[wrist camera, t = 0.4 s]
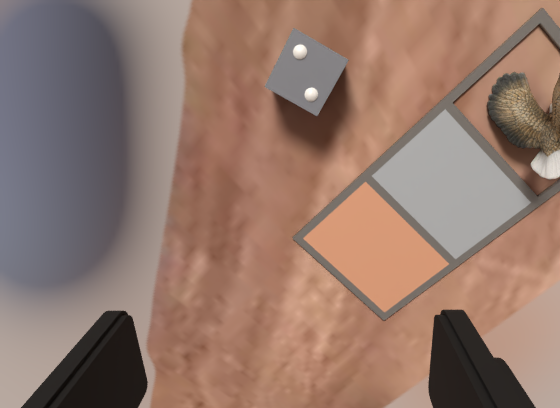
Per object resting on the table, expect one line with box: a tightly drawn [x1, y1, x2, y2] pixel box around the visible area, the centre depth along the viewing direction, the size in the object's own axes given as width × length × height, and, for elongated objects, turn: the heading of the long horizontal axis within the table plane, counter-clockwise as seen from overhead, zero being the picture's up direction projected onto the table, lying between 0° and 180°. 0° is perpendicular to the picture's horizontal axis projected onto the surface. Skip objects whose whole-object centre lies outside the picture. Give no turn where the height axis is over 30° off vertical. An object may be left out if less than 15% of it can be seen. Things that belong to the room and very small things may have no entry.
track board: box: [293, 8, 560, 320], centre depth 37 cm, size 30×15×1 cm, turn 137°
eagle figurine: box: [487, 72, 560, 179], centre depth 31 cm, size 8×7×9 cm
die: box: [265, 28, 349, 116], centre depth 32 cm, size 5×5×5 cm
